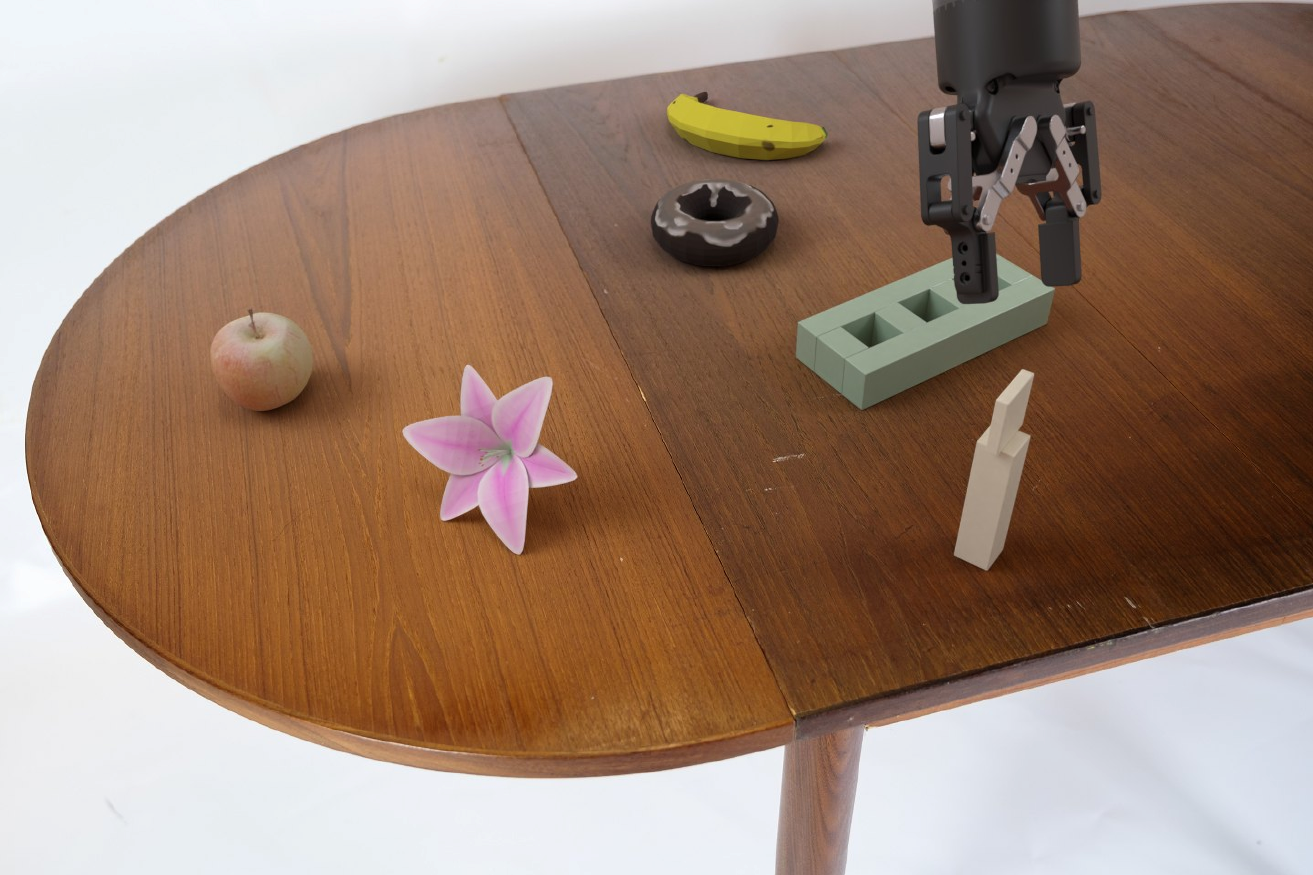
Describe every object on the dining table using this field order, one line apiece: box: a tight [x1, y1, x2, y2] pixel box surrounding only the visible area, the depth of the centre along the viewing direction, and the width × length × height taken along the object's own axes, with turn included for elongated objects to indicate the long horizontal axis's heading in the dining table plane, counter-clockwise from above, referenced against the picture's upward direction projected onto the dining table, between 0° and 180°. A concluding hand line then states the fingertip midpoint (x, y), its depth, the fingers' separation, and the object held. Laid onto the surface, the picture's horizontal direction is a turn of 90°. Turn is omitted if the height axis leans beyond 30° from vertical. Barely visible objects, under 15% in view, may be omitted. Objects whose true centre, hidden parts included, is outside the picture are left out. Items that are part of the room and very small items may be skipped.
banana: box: [666, 91, 828, 161], centre depth 121 cm, size 5×17×15 cm
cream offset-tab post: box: [953, 368, 1035, 572], centre depth 70 cm, size 2×4×14 cm, turn 142°
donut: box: [650, 178, 780, 267], centre depth 104 cm, size 12×12×4 cm
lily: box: [402, 364, 578, 556], centre depth 78 cm, size 12×12×10 cm
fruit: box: [209, 308, 314, 412], centre depth 87 cm, size 8×7×8 cm
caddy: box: [795, 253, 1056, 411], centre depth 91 cm, size 8×20×4 cm, turn 122°
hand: (1021, 294), depth 64 cm, fingers open, 8 cm apart
